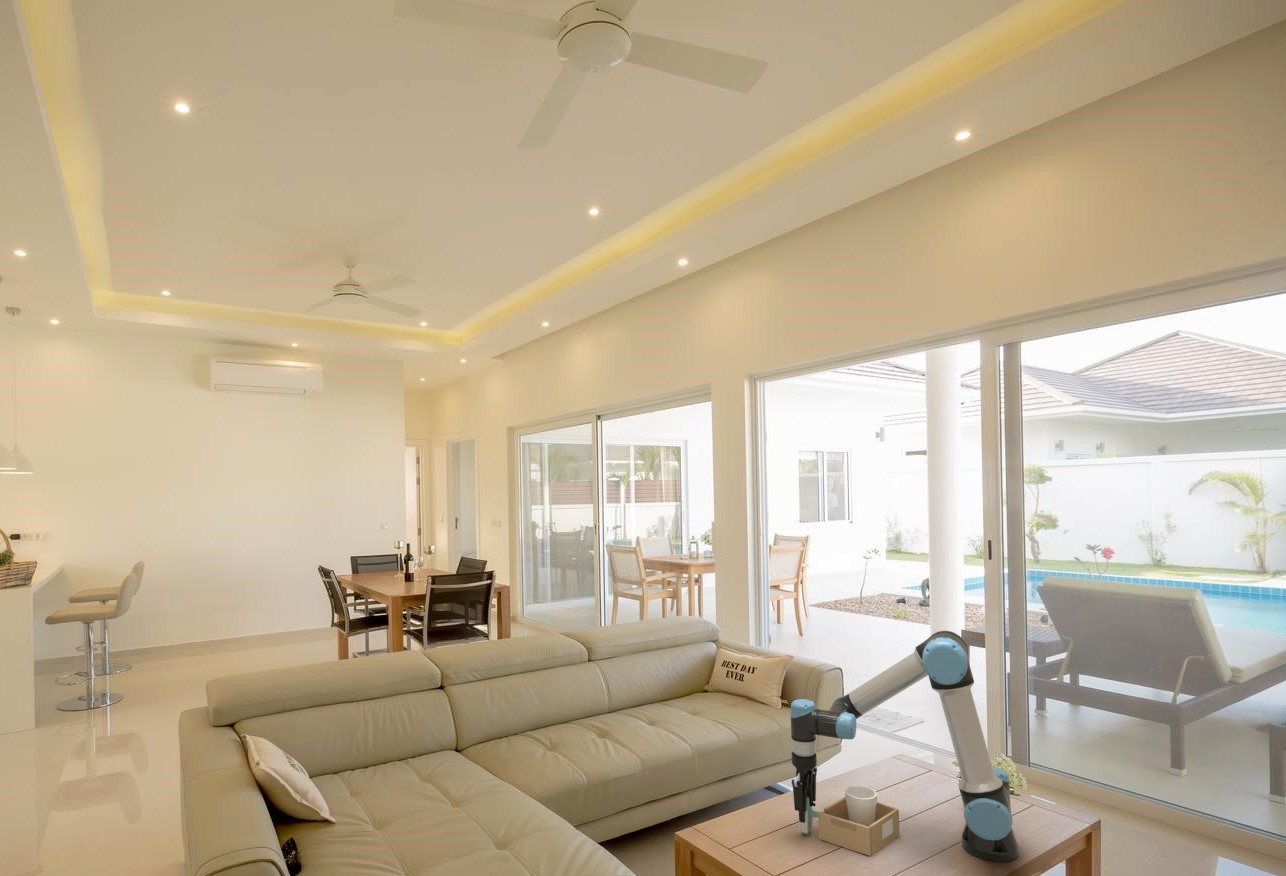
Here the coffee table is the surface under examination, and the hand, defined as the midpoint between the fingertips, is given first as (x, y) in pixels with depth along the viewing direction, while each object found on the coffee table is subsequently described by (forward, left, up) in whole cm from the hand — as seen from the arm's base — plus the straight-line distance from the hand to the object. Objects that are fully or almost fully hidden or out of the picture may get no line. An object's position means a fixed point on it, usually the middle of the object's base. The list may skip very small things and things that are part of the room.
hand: (806, 829), depth 224 cm
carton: (-12, -12, -2) cm, 17 cm away
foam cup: (-12, -12, -2) cm, 17 cm away
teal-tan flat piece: (-10, -1, -1) cm, 10 cm away
